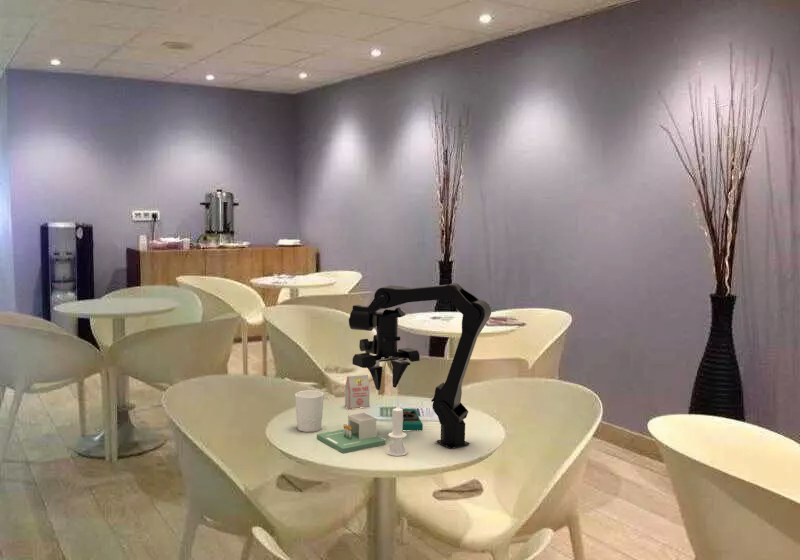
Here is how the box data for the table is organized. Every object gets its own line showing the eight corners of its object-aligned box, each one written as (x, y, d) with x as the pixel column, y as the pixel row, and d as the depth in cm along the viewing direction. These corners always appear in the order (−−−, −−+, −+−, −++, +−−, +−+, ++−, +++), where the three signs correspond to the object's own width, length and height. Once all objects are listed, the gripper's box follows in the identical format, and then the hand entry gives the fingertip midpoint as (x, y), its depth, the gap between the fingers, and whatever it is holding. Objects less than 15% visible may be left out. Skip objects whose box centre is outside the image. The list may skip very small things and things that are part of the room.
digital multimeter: (416, 417, 224) (416, 407, 224) (422, 432, 210) (423, 422, 209) (392, 417, 224) (392, 408, 223) (396, 432, 209) (397, 422, 209)
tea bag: (344, 406, 233) (345, 375, 232) (365, 404, 236) (365, 373, 235) (348, 409, 230) (349, 377, 229) (369, 407, 232) (369, 376, 231)
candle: (386, 449, 193) (386, 404, 192) (406, 449, 194) (407, 404, 192) (387, 456, 188) (388, 409, 187) (408, 456, 188) (409, 409, 187)
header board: (385, 444, 197) (385, 439, 197) (342, 453, 190) (342, 448, 190) (357, 430, 209) (358, 426, 208) (316, 438, 201) (316, 433, 201)
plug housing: (376, 436, 200) (376, 418, 199) (360, 439, 197) (360, 421, 196) (363, 430, 205) (363, 412, 204) (347, 433, 202) (348, 415, 202)
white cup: (329, 427, 211) (329, 392, 210) (312, 434, 205) (312, 398, 204) (306, 422, 215) (306, 388, 214) (289, 429, 209) (289, 394, 208)
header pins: (352, 439, 197) (352, 427, 197) (349, 439, 197) (349, 427, 196) (345, 435, 200) (345, 424, 200) (343, 436, 200) (343, 424, 199)
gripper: (398, 325, 214) (397, 378, 216) (342, 330, 204) (341, 386, 205) (421, 331, 205) (420, 386, 207) (363, 337, 195) (363, 395, 196)
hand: (386, 388), depth 204 cm, fingers open, 5 cm apart
